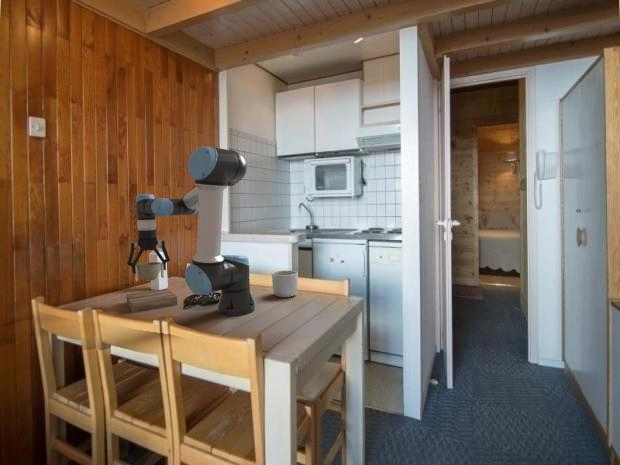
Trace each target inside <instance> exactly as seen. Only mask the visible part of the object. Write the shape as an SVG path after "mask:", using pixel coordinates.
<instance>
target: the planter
mask: <svg viewBox="0 0 620 465" xmlns="http://www.w3.org/2000/svg"><path fill="white" fill-rule="evenodd" d="M298 274H299V273H298V271H296V270H278V271H277V270H276V271H273V272H272V273H271V282H272V292H273V294H274V295H275V296H276V297H278V298H292V297H294V296H295V295H297V293H298V285H299V275H298ZM291 296H292V297H291Z"/></svg>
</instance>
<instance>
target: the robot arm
mask: <svg viewBox="0 0 620 465" xmlns="http://www.w3.org/2000/svg"><path fill="white" fill-rule="evenodd" d="M187 162H188V163H187V171H188V172H189V176H190V177H191V178H192V179H193V180H194V185H195V187H193V189H191V190H190V191H189V192H188V193H187V194H185V195H184V196H182V197H181V198H177V197H176V198H164V197H162V198H161V197H160V198H155V195H154V194H152V193H151V194H147V193H145V194H144V193H143V194H137V195H136V196H135V208H136V210H135V211H136V223H137V224H136V226H137V229H138V231H137V241H136V242H130V249H129V250H130V251H129V253H128V254H129V255H128V257H127V262H126V265H127V266H129V267H131V270H132V271H131V272H132V273H131V274H133V275H134V277H135V282H139V272H138V268H137V265H138V261H139V260H140V258H141V256H142V254H144V251H145V252H147V251H153V250H154V251H155V253H156V254H157V256H158V257H159V258H160V260H161V261H162V263H161V277H162V278H164V270H166V263H168V262H170V261H171V259H170V256H169V254H168V251H167V248H166V246H165V245H166V244H165V240H158V238H157V236H158V235H157V230H156V228H157V220H156V219H157V218H156V217H160V218H161V217H169V216H170V217H171V216H191V215H192V216H193V215H196V214H197V228H196V229H197V232H196V239H197V240H196V252H195V255H193V256H192V257H191V258H192V259H191V261H192V262H191V264H190V265H188V266H187V267H186V268H185V269H184V280H185V282H186V283H185V284H186V285H187V287H188V289H189V290H190V291H191V293H193V294H194V295H197V296H202V295H209V294H211V293H215V292H218V291H220V292H221V293H220V297H219V300H218V303H217V313H218V314H219V315H221V316H228V317H231V316H233V317H234V316H243V315H246V314H250V313H252V312H254V311H255V310H256V304H255V300H254V299H253V295H252V292H251V287H250V286H251V285H250V262H249V258H248V257H247V256H245V255H237V254H235V255H234V254H222V253H221V249H222V248H221V246H222V228H223V226H222V224H223V204H224V203H223V202H224V201H223V200H224V191H225V190H226V189H227V188H228V187H234V186H235V185H237V184H238V183H240V182H241V181H242V180H243V179H244V177H245V176H246V173H247V169H248V166H247V162H246V159H245V157H244V156H243V155H242V154H241V153H240V152H238V151H236V150H234V149H226V148H225V149H224V148H221V147H220V148H219V147H214V146H199V147H197V148H195V149H194V150H193V152H191V153H190V156H189V159H188V160H187ZM157 245H159V246H160V248H161V250H162V251H163V253H164V256H165V258H166V259H165V260H164V258H163V257H162V255H161V254H160V253H159V251H158V250H157V248H158V247H157ZM137 246H138V247H139V249H138V252H137V253H136V256H135V257H134V253H135V249H136V248H137ZM133 257H134V259H133ZM132 260H133V261H132Z"/></svg>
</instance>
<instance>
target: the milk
mask: <svg viewBox="0 0 620 465" xmlns="http://www.w3.org/2000/svg"><path fill="white" fill-rule="evenodd" d="M156 248H157V250H158V251H159V253H160V254H161V255H162V257H163V258H164V260H165V259H166V258H165V256H164V253H163V250H162V248H161V247H156ZM148 259H149V260H148V261H149V262H161V263H162V261H161V260H160V258H159V257H158V256H157V254H156V253H155V251H154V250H151V252H150V253H148ZM149 262H148V263H149ZM167 263H168V262H166V270H164V278H162V277H161V269H160V272H159V275H158V277H157V278H156V279H155V280H150V289H151V290H152V291H155V290H161V289H169V285H168V284H169V283H168V266H167Z"/></svg>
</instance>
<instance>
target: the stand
mask: <svg viewBox="0 0 620 465" xmlns="http://www.w3.org/2000/svg"><path fill="white" fill-rule="evenodd" d="M177 296H178V295H176V294H175V293H174V292H173V291H171V289H169V288H165V289H161V290H150V291H142V292H135V293H131V294H129V293H128V294H126V304H127V306H128V308H129V310H130V311H131V313H132V314H133V313H140V312H145V311H146V312H147V311H150V310H157V309H162V308H168V307H175V306H178V297H177Z"/></svg>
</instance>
